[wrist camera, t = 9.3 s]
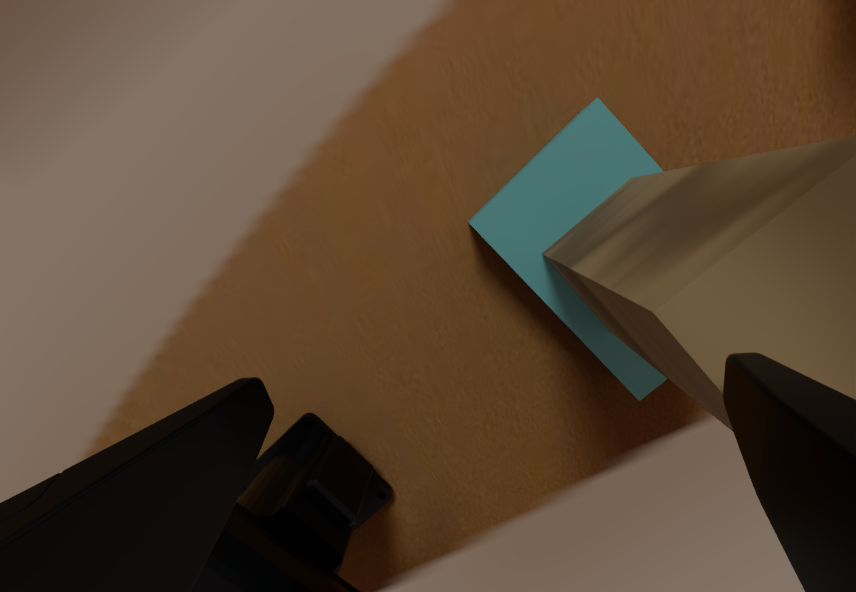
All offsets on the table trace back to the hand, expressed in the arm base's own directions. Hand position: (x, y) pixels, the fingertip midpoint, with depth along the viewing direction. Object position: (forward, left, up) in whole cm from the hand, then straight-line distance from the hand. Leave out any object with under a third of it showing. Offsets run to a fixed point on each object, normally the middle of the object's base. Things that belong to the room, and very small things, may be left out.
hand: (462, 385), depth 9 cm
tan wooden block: (+6, -4, -11) cm, 13 cm away
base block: (+6, -4, -14) cm, 15 cm away
